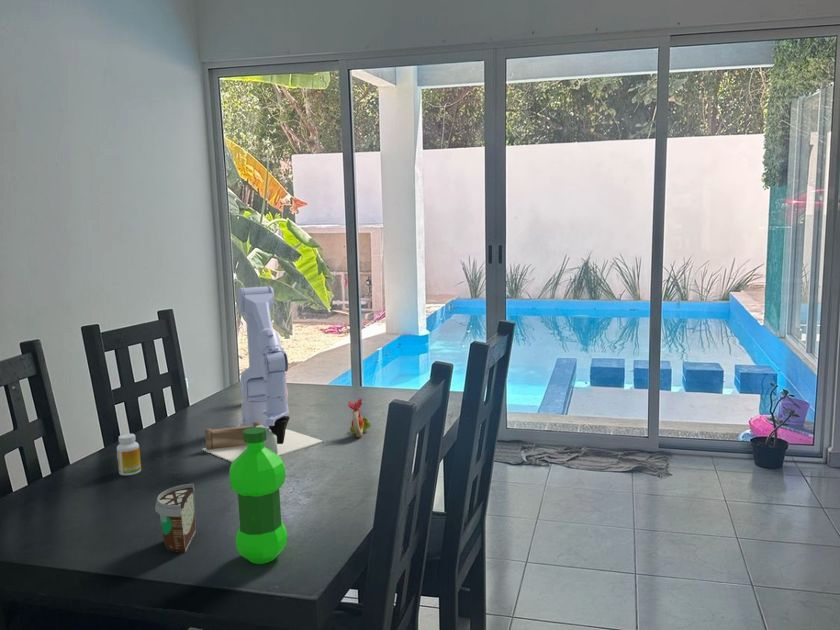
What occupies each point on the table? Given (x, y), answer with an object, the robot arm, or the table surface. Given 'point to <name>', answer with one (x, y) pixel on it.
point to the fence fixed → (226, 436)
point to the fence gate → (270, 440)
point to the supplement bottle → (128, 455)
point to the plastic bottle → (258, 499)
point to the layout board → (290, 444)
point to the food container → (177, 516)
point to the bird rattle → (358, 419)
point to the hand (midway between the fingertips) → (279, 443)
